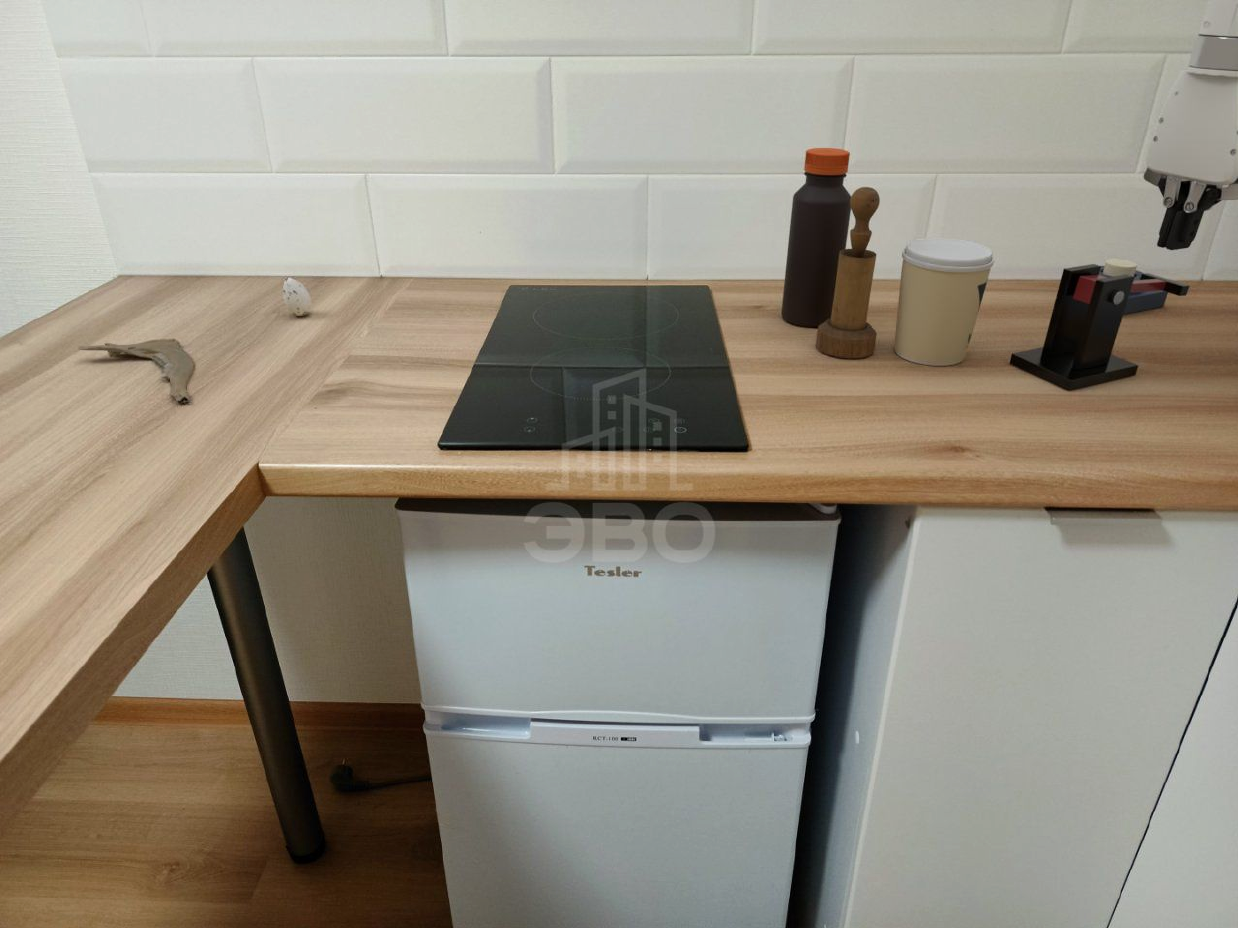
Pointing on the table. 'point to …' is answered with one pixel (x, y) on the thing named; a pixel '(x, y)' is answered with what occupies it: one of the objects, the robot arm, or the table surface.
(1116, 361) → the black stand
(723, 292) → the table surface
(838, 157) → the bottle
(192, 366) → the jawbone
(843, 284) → the mortar and pestle
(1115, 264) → the button
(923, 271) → the coffee cup
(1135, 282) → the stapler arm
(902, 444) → the table surface
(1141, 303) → the button box
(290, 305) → the egg
